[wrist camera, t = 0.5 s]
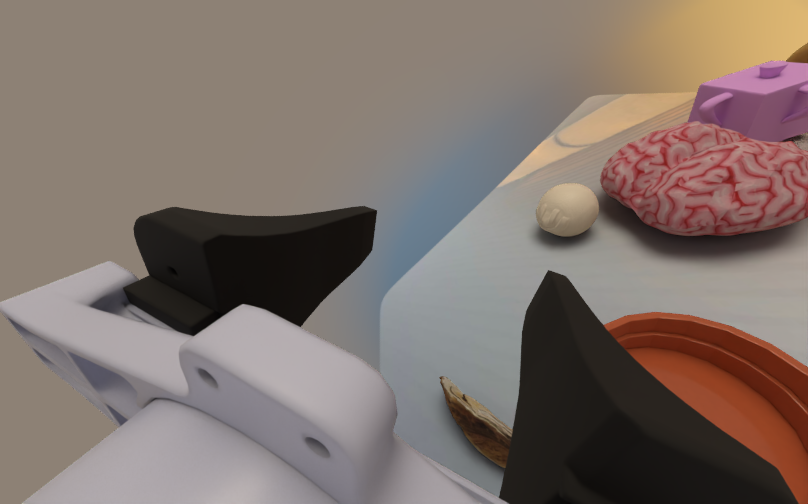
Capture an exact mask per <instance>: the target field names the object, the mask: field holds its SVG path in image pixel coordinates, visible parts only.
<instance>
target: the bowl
mask: <svg viewBox="0 0 808 504" xmlns="http://www.w3.org/2000/svg"><path fill="white" fill-rule="evenodd" d="M604 327H605V328H606V329H607V330H608V331H609V333H610V334H611V335H612V336H613V337H614V338H615V339H616V340H617V341H618V342H619V344H620V345H621V346H622V347H623V348H624V349H625V350H626V351H627V352H628V353H629V354H630V355H631V356H632V357H633V358H634V359H635V360H636V361H637V362H639V363H640V364H641V365H642V366H643V367H644V368H645V369H646V370H647V371H648V372H650V373H651V374H652V375H653V376H654V377H655V378H656V379H658V380H659V381H660V382H661V383H662V384H663V385H665V386H666V387H667V388H668V389H669V390H670V391H672V392H673V393H674V394H675V395H677V396H678V397H679V398H680V399H682V400H683V401H684V402H685V403H687V404H688V405H689V406H691V407H692V408H693V409H695V410H696V411H697V412H699V413H700V414H701V415H702V416H704V417H705V418H706V419H708V420H709V421H710V422H712V423H713V424H714V425H716V426H717V427H719V428H720V429H721V430H723V431H724V432H726V433H727V434H729V435H730V436H732V437H733V438H734V439H736V440H737V441H739V442H740V443H742V444H743V445H745V446H746V447H748V448H749V449H750V450H752V451H753V452H755V453H756V454H758V455H759V456H761V457H762V458H763V459H765V460H766V461H768V462H769V463H771V464H772V465H774V466H775V467H777V469H778V470H779V471H780V473H781V475H782V476H783V478H784V480H785V481H786V483H787V484H788V486H789V488H790V489H791V491H792V493H793V494H794V496H795V498H796V499H797V501H798V503H799V504H808V367H807V366H805V365H803V364H802V363H800V362H799V361H797V360H796V359H794V358H793V357H791V356H789V355H788V354H786V353H785V352H783V351H782V350H780V349H779V348H777V347H775V346H774V345H772V344H770V343H768V342H766V341H763V340H761V339H759V338H757V337H754V336H752V335H750V334H748V333H745V332H743V331H741V330H739V329H736V328H734V327H732V326H729V325H725V324H721V323H718V322H714V321H710V320H707V319H703V318H699V317H695V316H692V315H691V316H690V315H683V314H672V313H661V312H651V313H643V314H635V315H627V316H624V317H622V318H619V319H617V320H614V321H612V322H610V323H607V324H605V325H604Z"/></svg>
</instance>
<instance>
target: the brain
mask: <svg viewBox="0 0 808 504" xmlns="http://www.w3.org/2000/svg"><path fill="white" fill-rule="evenodd" d="M600 182H601V185H602V187H603V189H604V191H605V192H606V193H607V194H608V195H609V196H610V197H612V198H615V199H616V200H618V201H619V202H620V203H621V204H623V205H624V206H626V207H627V208H632V209H633V210H634V211H635V212H636V214H637V215H638V217H639V218H640V219H641V220H642V221H643V222H644V223H646V224H647V225H649V226H652V227H654V228H657V229H660V230H661V231H663V232H665V233H669V234H675V235H683V236H699V235H727V236H730V235H737V234H741V233H750V232H757V231H763V230H768V229H773V228H777V227H781V226H786V225H789V224H792V223H795V222H798V221H800V220H803V219H805V218H807V217H808V151H806V150H801V149H799V148H798V147H797V146H796V145H795V144H794V143H793V142H792V141H787V142H765V141H758V140H754V139H751V138H747V137H746V136H744V135H742V134H741V133H739V132H736V131H733V130H729V129H724V128H720V127H719V126H718V125H715V124H702V123H700V122H699V121H694V122H691V123H683V124H679V125H675V126H672V127H670V128H668V129H665V130H660V131H655V132H652V133H650V134H648V135H647V136H645V137H644V138H642V139H640V140H638V141H635V142H631V143H628V144H627V145H625V146H624V147H622V148H621V149H620V150H619V151H618V152H617V153H616V154H614V155H613V156H612V157H611V158H610V159H609V160H608V161H607V163H606V164H605V166H604V168H603V171H602V173H601V179H600Z"/></svg>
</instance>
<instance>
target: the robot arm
mask: <svg viewBox="0 0 808 504" xmlns="http://www.w3.org/2000/svg"><path fill="white" fill-rule="evenodd" d="M376 214H377V210H374V209H371V208H368V207H365V206H359V207H351V208H344V209H338V210H332V211H326V212H318V213H311V214H303V215H292V216H242V215H229V214H219V213H210V212H203V211H197V210H191V209H184V208H179V207H171V208H167V209H163V210H160V211H157V212H154V213H150V214H147V215H143V216H140V217H139V218H138V219H137V220H136V222H135V225H134V236H135V239H136V242H137V246H138V248H139V251H140V253H141V256H142V258H143V261H144V263H145V266H146V268H147V270H148V273H149V275H150V276H147V277H145V278H143V279H141V280H139V279H138V278H137V277H136V276H135V275H134V274H133V273H132V272H130V271H128V270H126V269H125V268H123V267H121V266H119V265H117V264H116V263H114V262H110V261H107V262H105V263H102V264H99V265H97V266H94V267H92V268H89V269H86V270H84V271H81V272H78V273H76V274H73V275H71V276H68V277H65V278H63V279H60V280H58V281H55V282H52V283H50V284H47V285H44V286H42V287H39V288H36V289H34V290H31V291H28V292H26V293H23V294H21V295H18V296H15V297H13V298H10V299H8V300H5V301H2V302H0V312H1V313H2V314H3V315H4V317H5V318H6V319H7V320H8V321H9V323H10V324H11V325H12V326H13V327H14V329H15V330H16V331H17V332H18V334H19V335H20V336H21V337H22V338H23V339H24V341H25V342H26V343H27V344H28V346H29V347H30V348H31V349H32V350H33V352H34V353H35V354H36V355H37V357H38V358H39V359H40V360H41V361H42V362H43V364H44V365H46V366H47V367H48V368H49V369H50V370H52V371H53V372H54V373H55V374H57V375H58V376H59V377H61V378H62V379H63V380H64V381H65V382H67V383H68V384H69V385H70V386H72V387H73V388H74V389H75V390H76V391H78V392H79V393H80V394H81V395H82V396H84V397H85V398H86V399H87V400H88V401H89V402H90V403H92V404H93V405H94V406H95V407H96V408H97V409H99V410H100V411H101V412H102V413H103V414H104V415H106V416H107V417H108V418H109V419H110V420H111V421H112V422H113V423H115V424H116V425H117V426H118V427H119V428H118V429H116V430H115V431H114V432H113V433H111V434H110V435H109V436H107V437H106V438H105V439H103V440H102V441H101V442H100V443H98V444H97V445H96V446H95V447H93V448H92V449H91V450H89V451H88V452H87V453H85V454H84V455H83V456H82V457H81V458H79V459H78V460H76V461H75V462H74V463H73V464H71V465H70V466H69V467H67V468H66V469H65V470H64V471H62V472H61V473H60V474H59V475H57V476H56V477H55V478H53V479H52V480H51V481H50V482H48V483H47V484H46V485H44V486H43V487H42V488H41V489H39V490H38V491H37V492H36V493H34V494H33V495H32V496H30V497H29V498H28V499H26V500H25V501H24V502H23V503H21V504H799V503H798V501H797V499H796V498H795V496H794V494H793V493H792V491H791V489H790V488H789V486H788V484H787V483H786V481H785V480H784V478H783V476H782V475H781V473H780V471H779V470H778V469H777V467H775V466H774V465H772V464H771V463H769V462H768V461H766V460H765V459H763V458H762V457H761V456H759V455H758V454H756V453H755V452H753V451H752V450H750V449H749V448H748V447H746V446H745V445H743V444H742V443H740V442H739V441H737V440H736V439H734V438H733V437H732V436H730V435H729V434H727V433H726V432H724V431H723V430H721V429H720V428H719V427H717V426H716V425H714V424H713V423H712V422H710V421H709V420H708V419H706V418H705V417H704V416H702V415H701V414H700V413H699V412H697V411H696V410H695V409H693V408H692V407H691V406H689V405H688V404H687V403H685V402H684V401H683V400H682V399H680V398H679V397H678V396H677V395H675V394H674V393H673V392H672V391H670V390H669V389H668V388H667V387H666V386H665V385H663V384H662V383H661V382H660V381H659V380H658V379H656V378H655V377H654V376H653V375H652V374H651V373H650V372H648V371H647V370H646V369H645V368H644V367H643V366H642V365H641V364H640V363H639V362H637V361H636V360H635V359H634V358H633V357H632V356H631V355H630V354H629V353H628V352H627V351H626V350H625V349H624V348H623V347H622V346H621V345H620V344H619V342H618V341H617V340H616V339H615V338H614V337H613V336H612V335H611V334H610V333H609V331H608V330H607V329H606V328H605V327H604V325H603V324H602V323H601V322H600V321H599V320H598V318H597V317H596V316H595V314H594V313H593V312H592V311H591V309H590V308H589V307H588V305H587V304H586V303H585V301H584V300H583V299H582V297H581V296H580V294H579V293H578V292H577V290H576V289H575V287H574V286H573V285H572V283H571V282H570V281H569V279H568V278H567V277H566V276H564V275H561V274H558V273H555V272H552V271H549V270H548V272H547V273H546V275H545V277H544V279H543V281H542V283H541V285H540V286H539V288H538V290H537V292H536V294H535V296H534V297H533V299H532V301H531V303H530V305H529V307H528V309H527V311H526V315H525V320H524V325H523V330H522V345H521V368H520V387H519V396H518V402H517V409H516V415H515V421H514V426H513V432H512V437H511V443H510V448H509V453H508V458H507V463H506V468H505V473H504V477H503V482H502V487H501V491H500V496H499V498H498V497H496V496H495V495H493V494H491V493H489V492H488V491H486V490H484V489H482V488H481V487H479V486H477V485H475V484H474V483H472V482H470V481H468V480H467V479H465V478H463V477H461V476H460V475H458V474H456V473H455V472H453V471H451V470H449V469H448V468H446V467H444V466H442V465H441V464H439V463H437V462H435V461H434V460H432V459H430V458H428V457H427V456H425V455H423V454H421V453H420V452H418V451H416V450H415V449H413V448H412V447H411V446H410V445H408V444H407V443H406V442H405V441H404V440H402V439H401V438H400V437H399V436H397V435H396V434H395V433H394V432H393V428H394V425H395V421H396V418H397V407H396V400H395V395H394V393H393V390H392V389H391V388H390V386H389V385H388V383H387V382H386V381H385V379H384V378H383V377H382V375H381V374H380V372H379V371H377V370H376V369H374V368H373V367H372V366H370V365H369V364H368V363H366V362H365V361H363V360H362V359H361V358H359V357H358V356H356V355H354V354H352V353H350V352H348V351H345V350H344V349H342V348H340V347H338V346H336V345H334V344H332V343H330V342H328V341H326V340H324V339H322V338H320V337H319V336H317V335H315V334H313V333H311V332H309V331H307V330H305V329H303V328H301V326H302V325H303V323H304V322H305V321H306V319H307V318H308V317H309V316H310V315H311V314H312V312H313V311H314V310H315V309H316V308H317V307H318V305H319V304H320V303H321V302H322V301H323V300H324V299H325V298H326V297H327V296H328V295H329V294H330V293H331V292H332V291H333V290H334V289H335V288H336V287H338V286H339V285H340V284H341V283H342V282H343V281H344V280H345V279H346V278H347V277H348V276H350V275H351V274H352V273H353V272H354V271H355V270H356V269H357V268H358V267H359V266H360V265H361V264H362V262H363V261H364V260H365V259H366V257H367V256H368V255H369V254H370V252H371V251H372V247H373V239H374V231H375V223H376Z"/></svg>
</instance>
